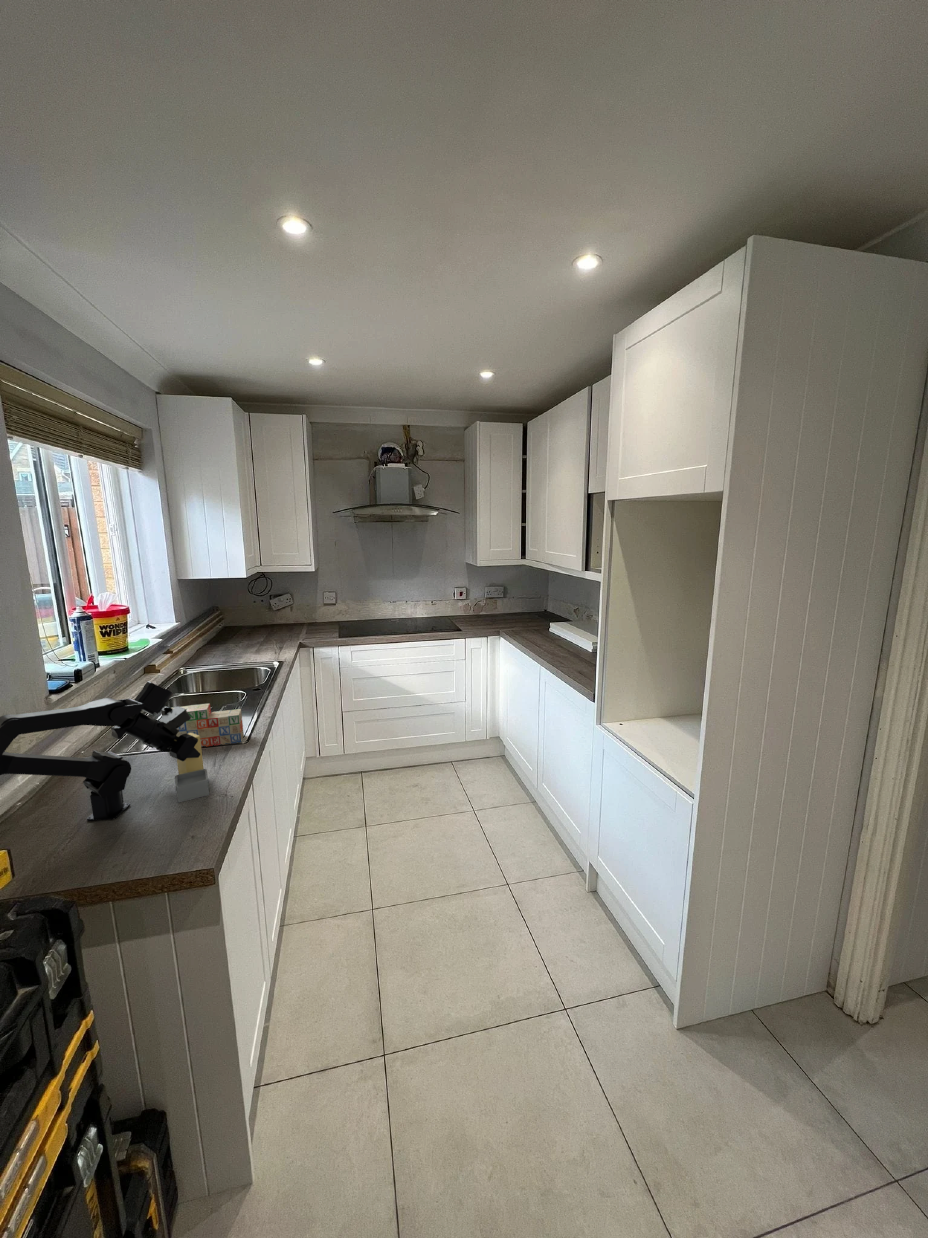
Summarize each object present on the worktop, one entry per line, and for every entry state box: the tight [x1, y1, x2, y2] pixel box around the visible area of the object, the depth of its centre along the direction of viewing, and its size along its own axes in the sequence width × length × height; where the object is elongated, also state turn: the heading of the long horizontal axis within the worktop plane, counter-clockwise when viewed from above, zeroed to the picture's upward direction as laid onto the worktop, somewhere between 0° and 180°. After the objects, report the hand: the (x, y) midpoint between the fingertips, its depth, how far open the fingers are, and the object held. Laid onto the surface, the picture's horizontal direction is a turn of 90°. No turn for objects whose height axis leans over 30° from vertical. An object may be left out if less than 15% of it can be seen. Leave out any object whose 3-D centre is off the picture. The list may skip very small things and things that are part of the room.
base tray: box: [174, 768, 210, 804], centre depth 128 cm, size 7×7×4 cm
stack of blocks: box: [171, 703, 245, 747], centre depth 159 cm, size 21×6×12 cm, turn 106°
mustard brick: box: [174, 733, 205, 775], centre depth 135 cm, size 4×4×12 cm
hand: (194, 753), depth 136 cm, fingers closed on mustard brick, 4 cm apart
